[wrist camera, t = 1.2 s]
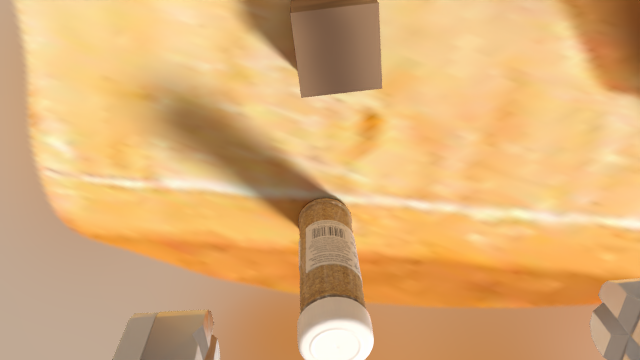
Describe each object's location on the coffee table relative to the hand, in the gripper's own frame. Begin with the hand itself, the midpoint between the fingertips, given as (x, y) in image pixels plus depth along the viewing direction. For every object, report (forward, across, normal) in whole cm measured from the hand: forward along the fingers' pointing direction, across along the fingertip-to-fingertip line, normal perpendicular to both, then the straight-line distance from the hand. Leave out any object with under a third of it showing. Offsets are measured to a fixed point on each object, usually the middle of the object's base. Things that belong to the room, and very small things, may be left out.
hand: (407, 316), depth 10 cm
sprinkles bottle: (+25, +1, +14) cm, 29 cm away
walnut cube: (+25, 0, -1) cm, 25 cm away
